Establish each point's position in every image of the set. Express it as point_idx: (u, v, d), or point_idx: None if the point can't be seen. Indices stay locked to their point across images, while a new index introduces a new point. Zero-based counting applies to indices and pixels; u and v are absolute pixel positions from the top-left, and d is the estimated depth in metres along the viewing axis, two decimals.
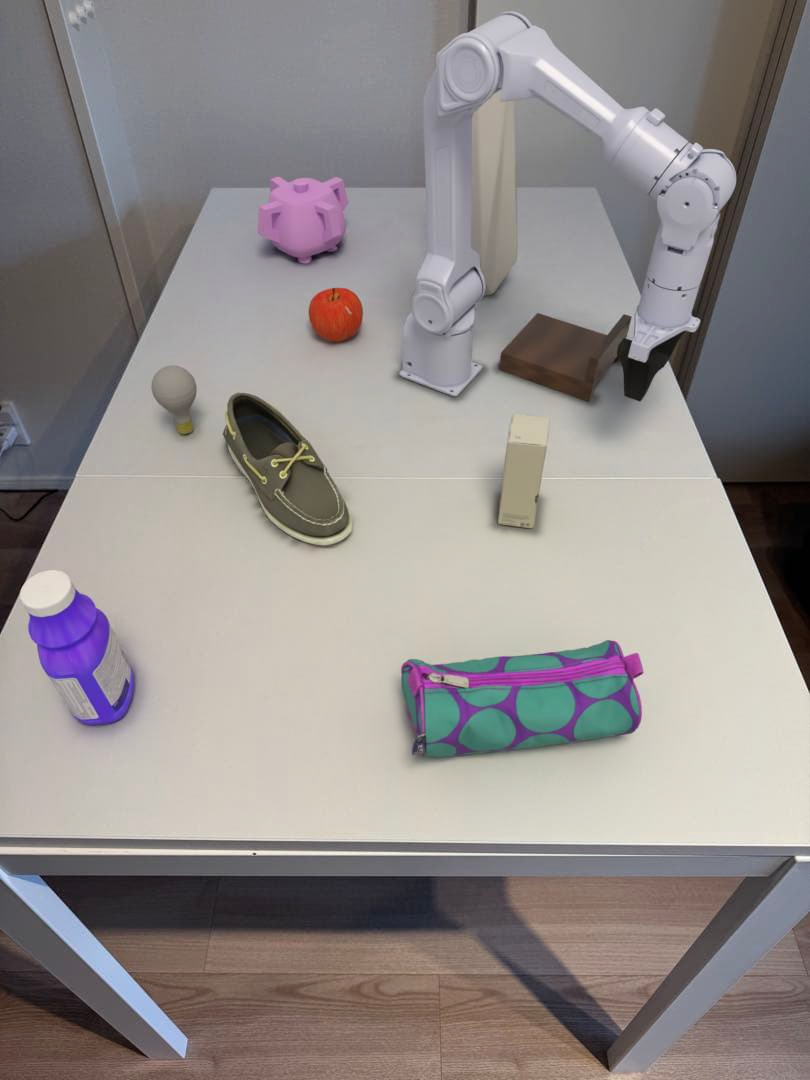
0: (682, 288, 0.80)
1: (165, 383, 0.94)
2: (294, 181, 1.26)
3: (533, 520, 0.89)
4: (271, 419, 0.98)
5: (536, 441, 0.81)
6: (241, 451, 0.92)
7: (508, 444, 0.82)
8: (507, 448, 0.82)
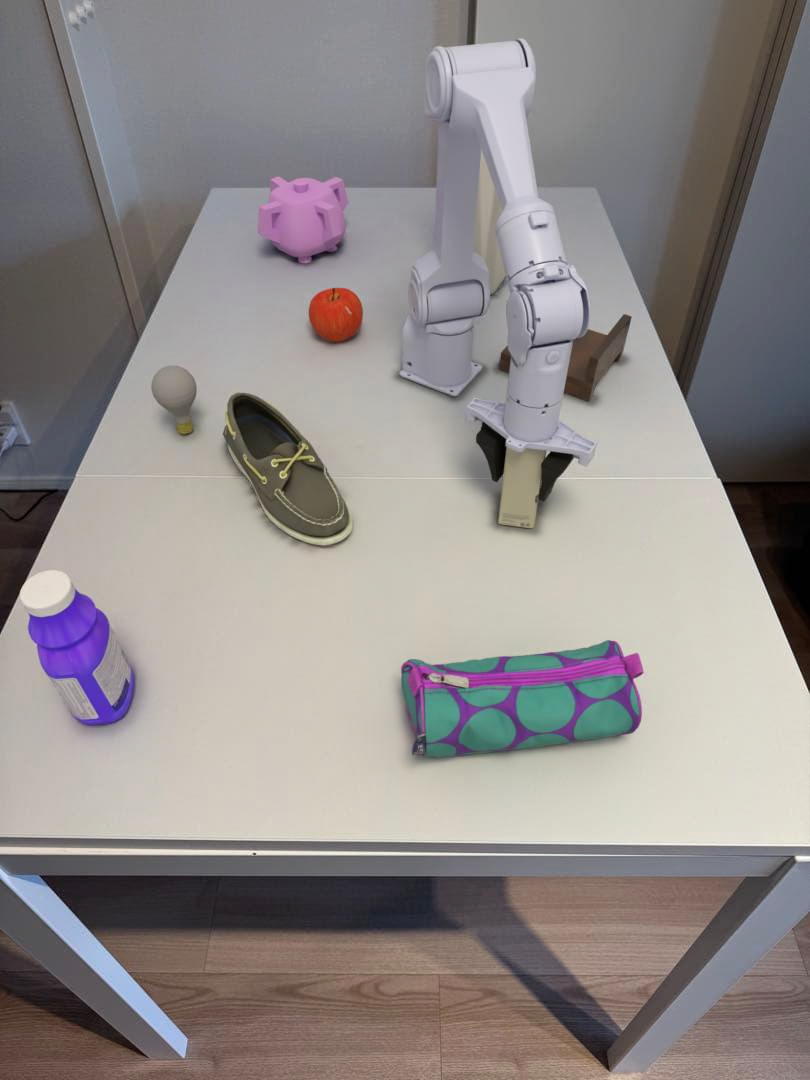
0: (520, 402, 0.77)
1: (165, 383, 0.94)
2: (294, 181, 1.26)
3: (533, 520, 0.89)
4: (271, 419, 0.98)
5: None
6: (241, 451, 0.92)
7: None
8: (507, 448, 0.82)
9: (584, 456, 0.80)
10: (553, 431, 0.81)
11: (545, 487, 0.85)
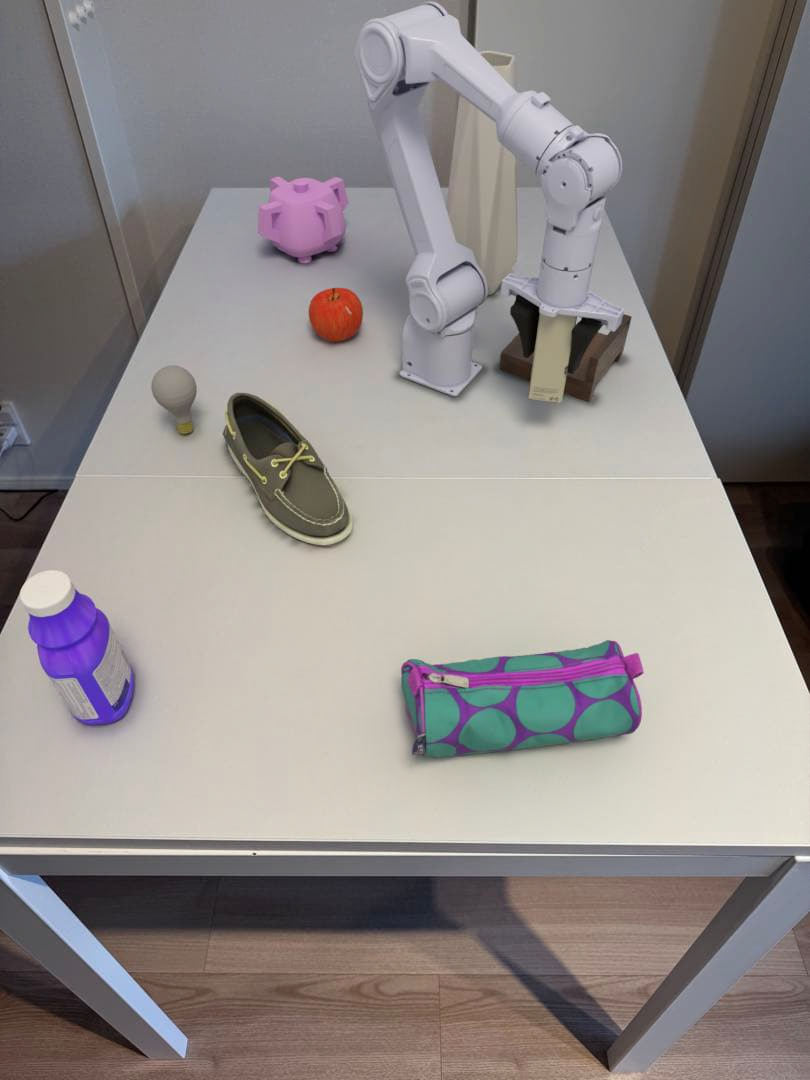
0: (568, 269, 0.83)
1: (165, 383, 0.94)
2: (294, 181, 1.26)
3: (562, 394, 0.95)
4: (271, 419, 0.98)
5: None
6: (241, 451, 0.92)
7: None
8: (540, 316, 0.88)
9: (612, 320, 0.86)
10: (583, 299, 0.87)
11: (574, 357, 0.91)
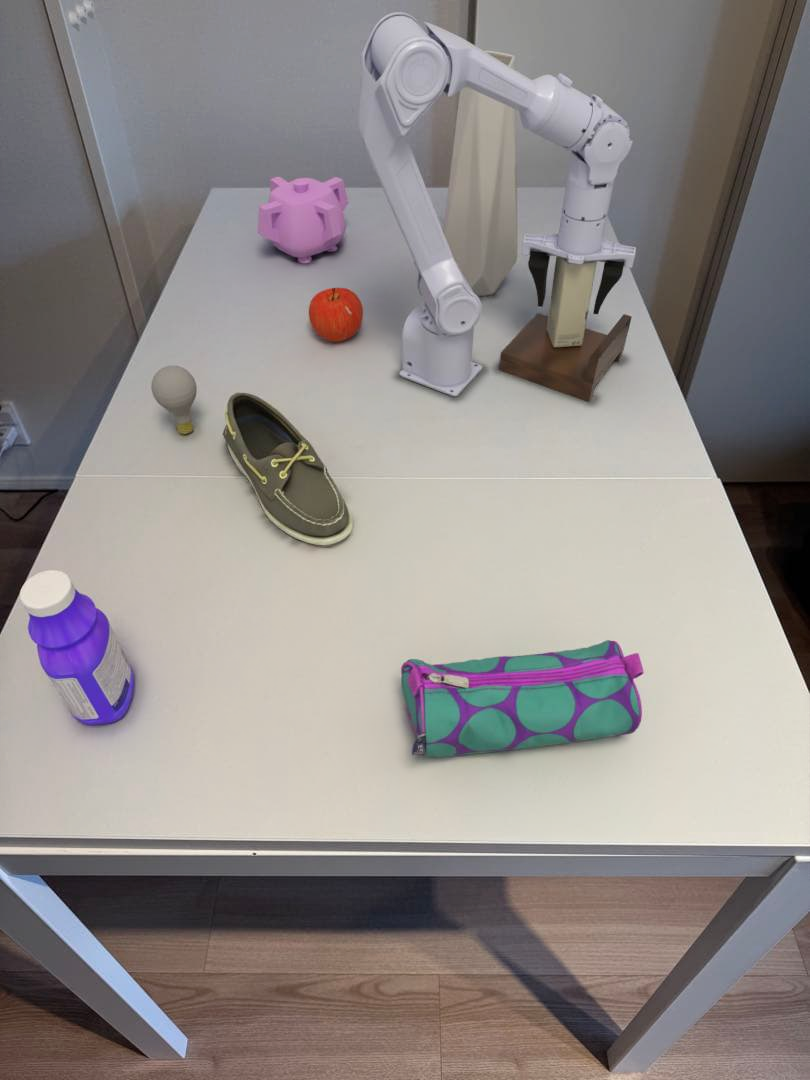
0: (605, 215, 0.96)
1: (165, 383, 0.94)
2: (294, 181, 1.26)
3: (582, 337, 1.08)
4: (271, 419, 0.98)
5: None
6: (241, 451, 0.92)
7: (566, 266, 1.00)
8: (565, 270, 1.01)
9: (630, 258, 0.99)
10: (601, 244, 0.99)
11: (601, 298, 1.03)
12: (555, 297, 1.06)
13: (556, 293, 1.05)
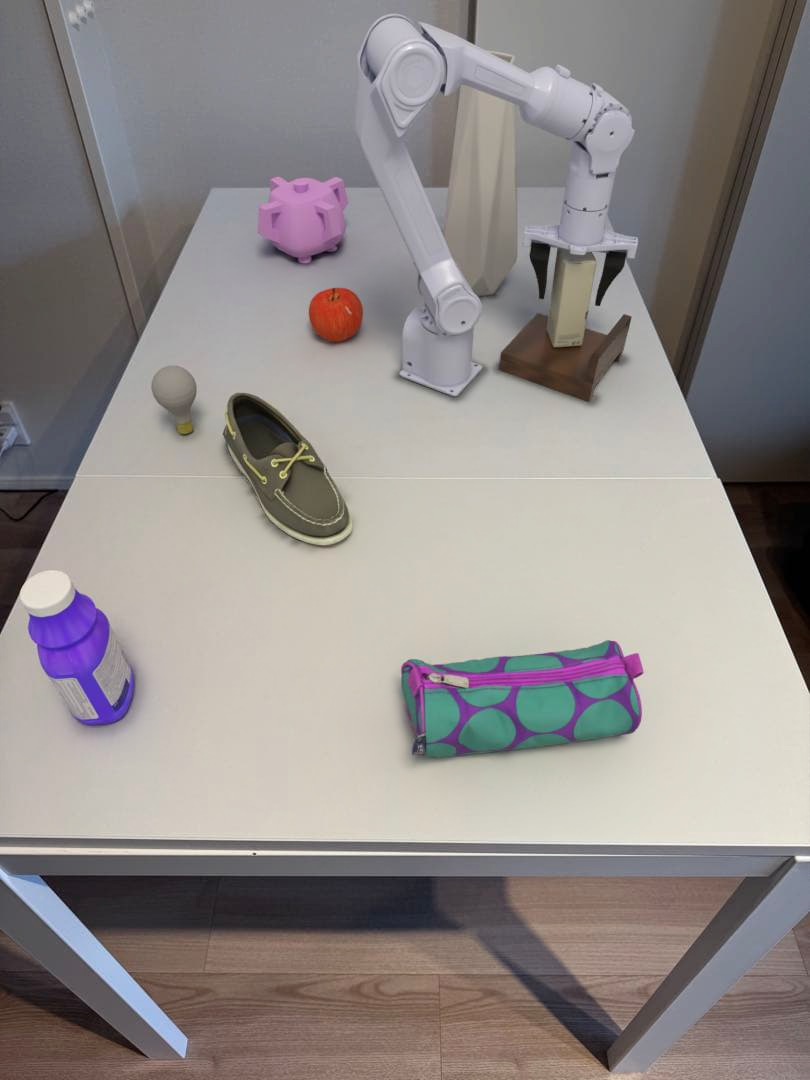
0: (607, 205, 0.95)
1: (165, 383, 0.94)
2: (294, 181, 1.26)
3: (582, 337, 1.08)
4: (271, 419, 0.98)
5: (587, 260, 1.00)
6: (241, 451, 0.92)
7: (566, 266, 1.00)
8: (565, 270, 1.01)
9: (632, 249, 0.98)
10: (603, 235, 0.98)
11: (603, 289, 1.03)
12: (555, 297, 1.06)
13: (556, 293, 1.05)
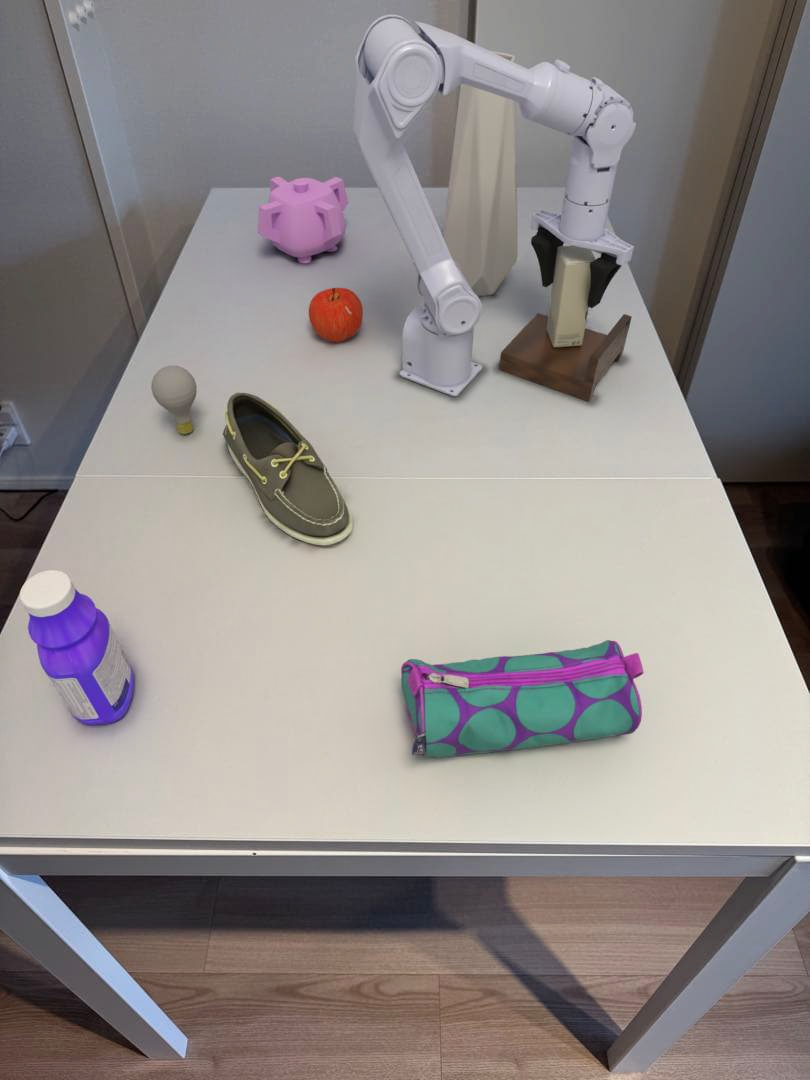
0: (608, 199, 0.94)
1: (165, 383, 0.94)
2: (294, 181, 1.26)
3: (582, 337, 1.08)
4: (271, 419, 0.98)
5: (587, 260, 1.00)
6: (241, 451, 0.92)
7: (566, 266, 1.00)
8: (565, 270, 1.01)
9: None
10: None
11: None
12: (555, 297, 1.06)
13: (556, 293, 1.05)
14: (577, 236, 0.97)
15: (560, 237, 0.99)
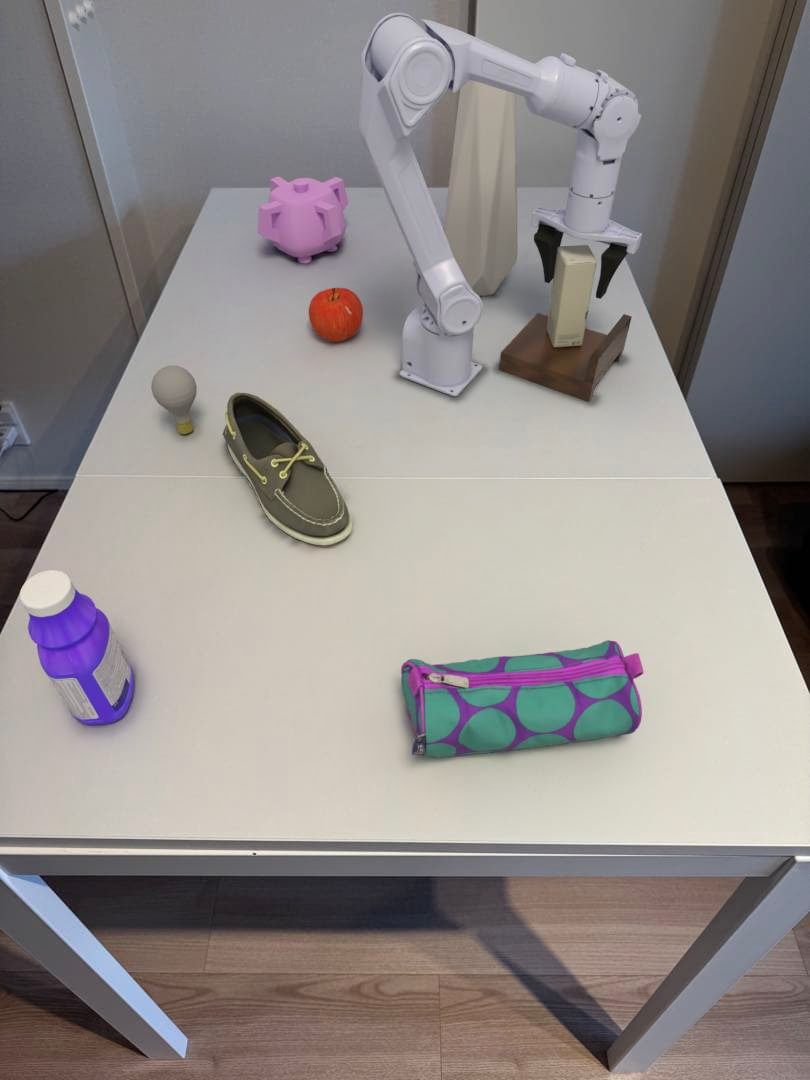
0: (613, 191, 0.95)
1: (165, 383, 0.94)
2: (294, 181, 1.26)
3: (582, 337, 1.08)
4: (271, 419, 0.98)
5: (587, 260, 1.00)
6: (241, 451, 0.92)
7: (566, 266, 1.00)
8: (565, 270, 1.01)
9: None
10: None
11: None
12: (555, 297, 1.06)
13: (556, 293, 1.05)
14: (586, 229, 0.97)
15: (567, 232, 0.99)
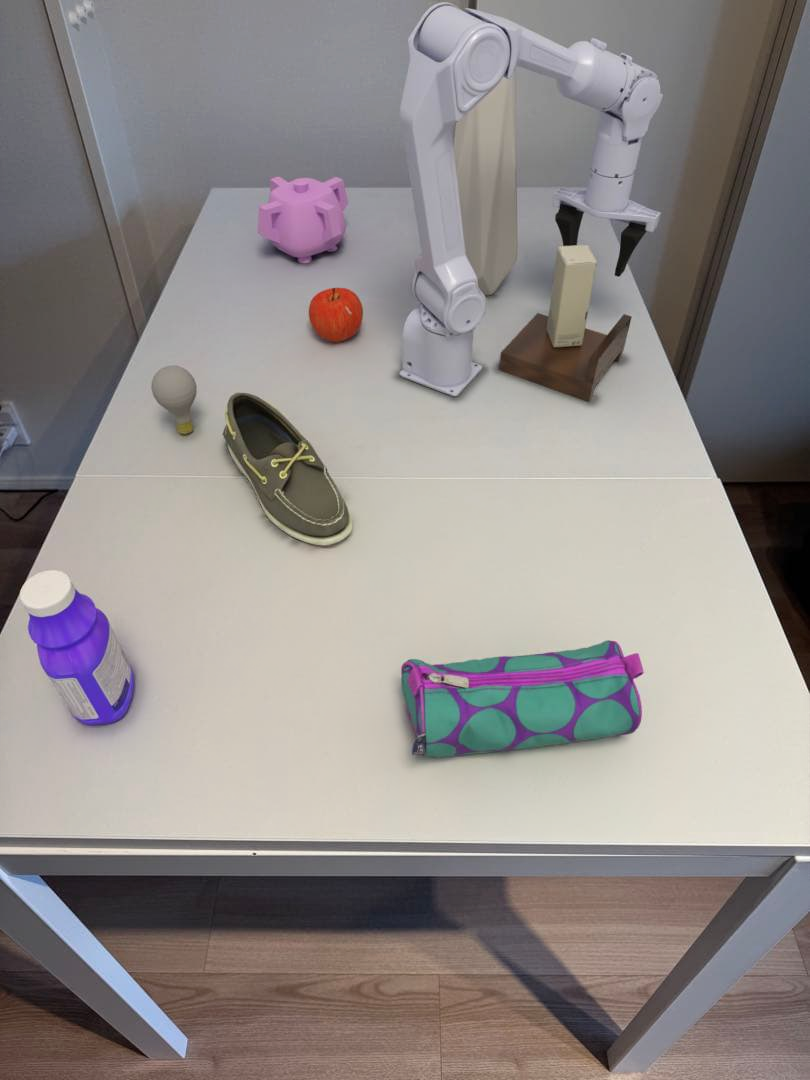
0: (634, 170, 0.99)
1: (165, 383, 0.94)
2: (294, 181, 1.26)
3: (582, 337, 1.08)
4: (271, 419, 0.98)
5: (587, 260, 1.00)
6: (241, 451, 0.92)
7: (566, 266, 1.00)
8: (565, 270, 1.01)
9: None
10: None
11: None
12: (555, 297, 1.06)
13: (556, 293, 1.05)
14: (607, 208, 1.01)
15: (588, 211, 1.02)
